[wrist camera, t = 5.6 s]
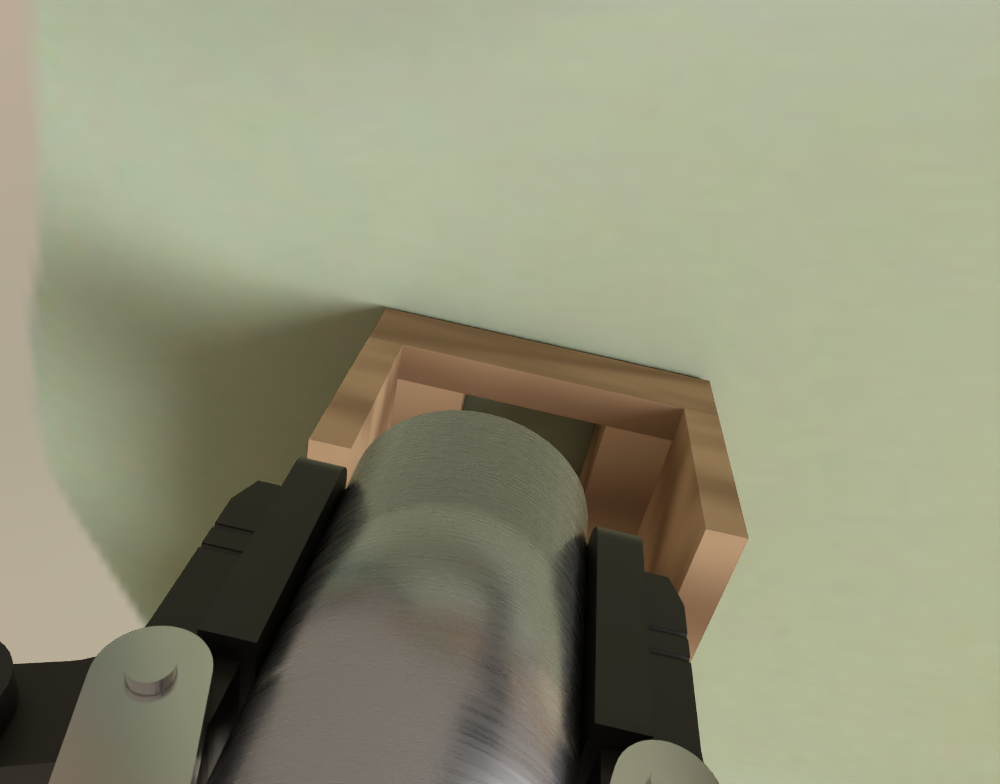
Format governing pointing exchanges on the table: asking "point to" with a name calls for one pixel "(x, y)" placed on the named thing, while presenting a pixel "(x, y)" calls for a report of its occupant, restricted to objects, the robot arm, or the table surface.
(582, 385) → the box
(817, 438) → the table surface
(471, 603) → the silver metal cylinder
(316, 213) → the table surface
